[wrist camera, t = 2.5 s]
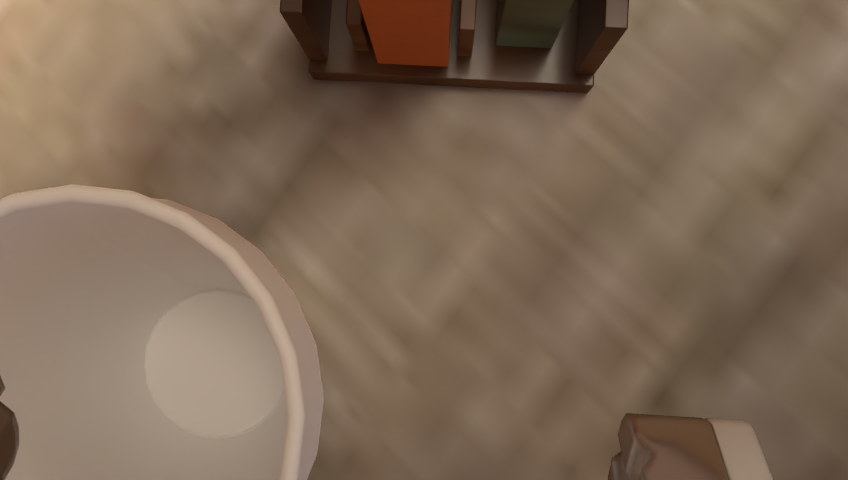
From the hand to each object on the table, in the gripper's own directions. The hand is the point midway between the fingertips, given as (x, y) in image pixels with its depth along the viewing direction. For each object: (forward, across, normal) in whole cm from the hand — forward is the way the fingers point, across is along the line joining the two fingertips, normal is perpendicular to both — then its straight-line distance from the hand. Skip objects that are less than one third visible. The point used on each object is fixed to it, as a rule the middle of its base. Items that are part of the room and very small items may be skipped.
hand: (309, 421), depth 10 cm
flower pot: (+18, +8, +16) cm, 25 cm away
